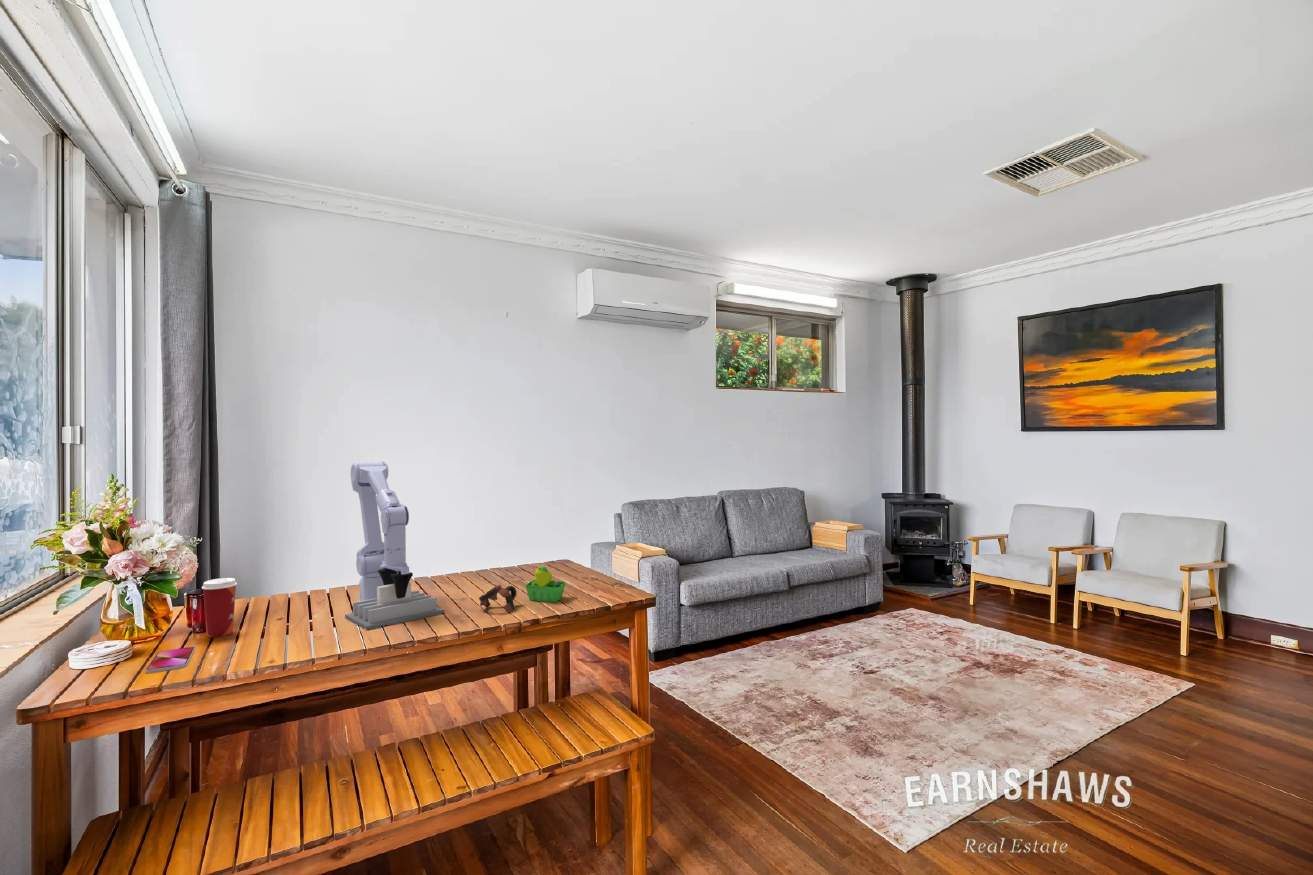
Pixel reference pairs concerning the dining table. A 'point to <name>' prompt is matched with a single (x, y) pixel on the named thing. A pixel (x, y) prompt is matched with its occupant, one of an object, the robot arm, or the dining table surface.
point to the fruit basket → (544, 587)
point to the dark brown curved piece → (503, 592)
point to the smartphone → (170, 660)
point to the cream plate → (390, 594)
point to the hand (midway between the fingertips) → (395, 595)
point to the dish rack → (393, 611)
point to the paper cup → (219, 606)
